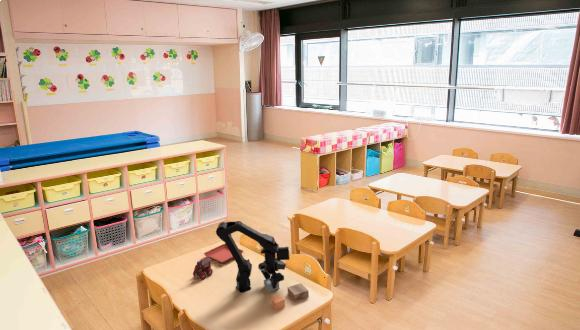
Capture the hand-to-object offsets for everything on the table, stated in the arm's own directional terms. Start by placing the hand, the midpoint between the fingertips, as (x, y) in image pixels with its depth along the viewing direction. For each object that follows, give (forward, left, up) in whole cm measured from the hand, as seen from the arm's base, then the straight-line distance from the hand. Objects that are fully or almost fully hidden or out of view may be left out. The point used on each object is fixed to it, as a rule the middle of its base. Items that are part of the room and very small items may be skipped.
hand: (271, 285), depth 220 cm
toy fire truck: (-27, +33, -1) cm, 43 cm away
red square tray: (-8, +48, -2) cm, 49 cm away
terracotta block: (-5, -16, -1) cm, 17 cm away
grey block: (0, 0, -1) cm, 1 cm away
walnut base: (+8, -14, -1) cm, 16 cm away
